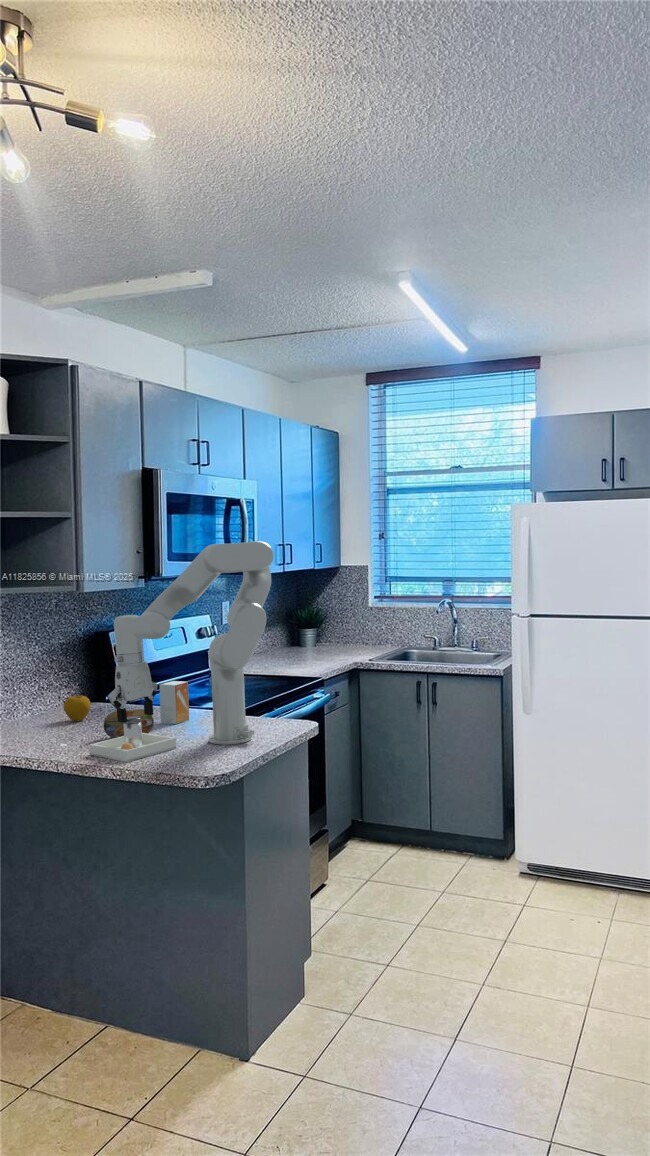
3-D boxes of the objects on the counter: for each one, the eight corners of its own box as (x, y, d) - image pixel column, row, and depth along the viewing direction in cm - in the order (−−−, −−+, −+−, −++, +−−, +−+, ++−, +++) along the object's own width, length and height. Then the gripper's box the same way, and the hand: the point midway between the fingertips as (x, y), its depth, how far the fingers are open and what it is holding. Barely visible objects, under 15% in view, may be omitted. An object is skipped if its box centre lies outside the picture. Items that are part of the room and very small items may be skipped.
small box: (176, 724, 276) (175, 685, 275) (160, 723, 278) (158, 684, 278) (190, 719, 283) (188, 681, 283) (174, 718, 286) (172, 680, 285)
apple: (74, 724, 281) (73, 697, 281) (58, 722, 287) (57, 695, 286) (96, 719, 288) (95, 693, 288) (80, 717, 294) (79, 691, 294)
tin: (104, 739, 257) (102, 712, 256) (104, 737, 260) (103, 710, 260) (154, 735, 260) (153, 708, 259) (154, 733, 263) (153, 707, 262)
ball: (136, 755, 232) (136, 742, 232) (126, 758, 229) (126, 745, 229) (128, 753, 234) (127, 741, 234) (118, 756, 231) (117, 743, 231)
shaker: (146, 748, 240) (145, 717, 239) (132, 752, 236) (131, 720, 235) (134, 746, 243) (133, 715, 243) (120, 750, 239) (119, 718, 238)
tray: (176, 748, 242) (176, 737, 242) (127, 762, 227) (127, 751, 227) (139, 742, 251) (138, 732, 251) (89, 755, 237) (89, 744, 237)
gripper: (115, 664, 229) (120, 726, 230) (162, 654, 243) (167, 712, 244) (97, 663, 234) (103, 724, 235) (145, 653, 248) (150, 711, 248)
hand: (136, 718), depth 239 cm, fingers open, 9 cm apart
